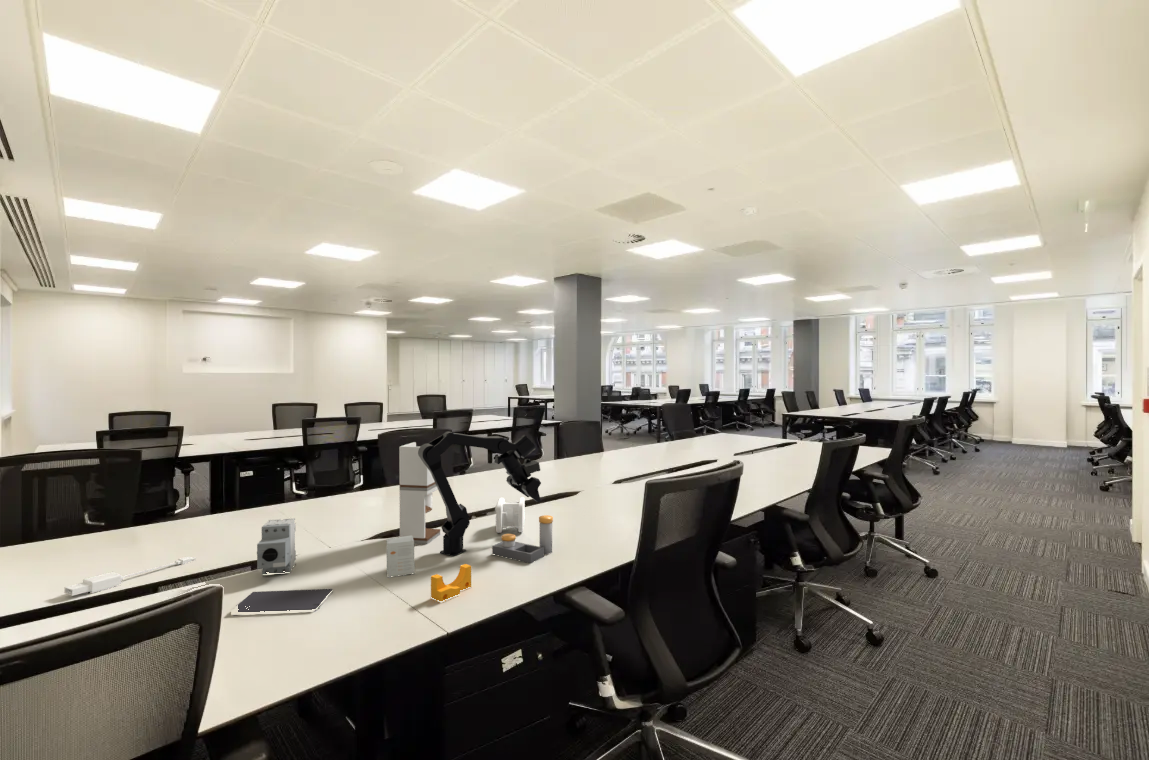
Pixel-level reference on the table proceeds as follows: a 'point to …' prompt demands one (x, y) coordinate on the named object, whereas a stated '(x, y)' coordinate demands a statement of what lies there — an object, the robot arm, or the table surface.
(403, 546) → the small box
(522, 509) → the cable organizer
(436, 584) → the pipe clamp
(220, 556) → the table surface
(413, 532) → the display case
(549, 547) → the plug
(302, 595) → the notebook
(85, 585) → the charging cable
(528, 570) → the table surface
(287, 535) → the circuit breaker
